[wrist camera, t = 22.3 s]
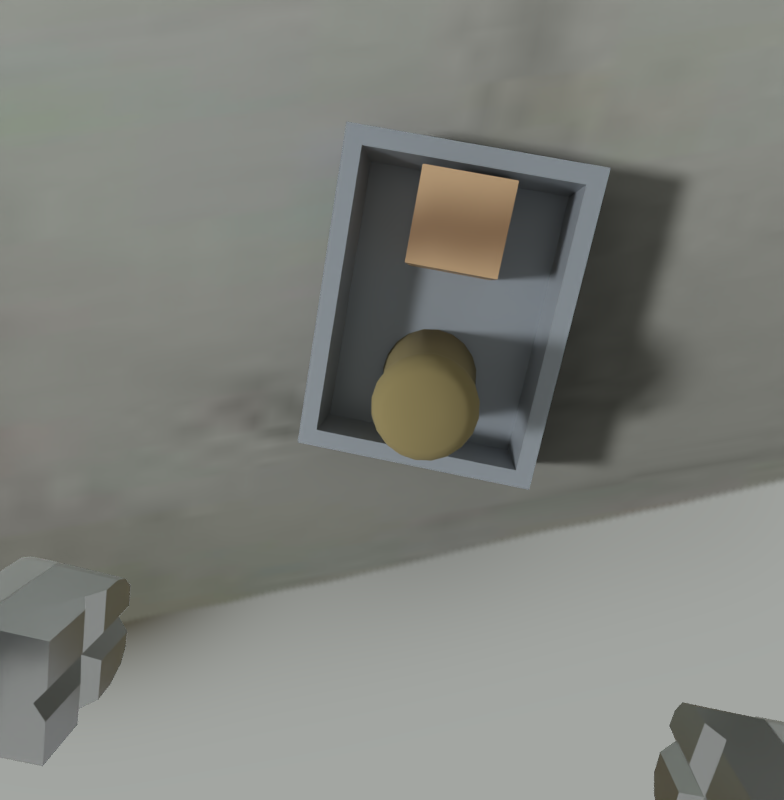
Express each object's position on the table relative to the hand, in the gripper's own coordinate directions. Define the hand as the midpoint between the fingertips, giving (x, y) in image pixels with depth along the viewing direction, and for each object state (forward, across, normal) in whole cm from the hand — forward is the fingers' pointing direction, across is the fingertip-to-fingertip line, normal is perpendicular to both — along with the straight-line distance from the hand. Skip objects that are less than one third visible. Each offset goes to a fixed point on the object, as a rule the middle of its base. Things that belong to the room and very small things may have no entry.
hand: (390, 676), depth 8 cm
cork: (+28, 0, 0) cm, 28 cm away
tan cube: (+28, 0, -9) cm, 30 cm away
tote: (+29, 0, -4) cm, 29 cm away
